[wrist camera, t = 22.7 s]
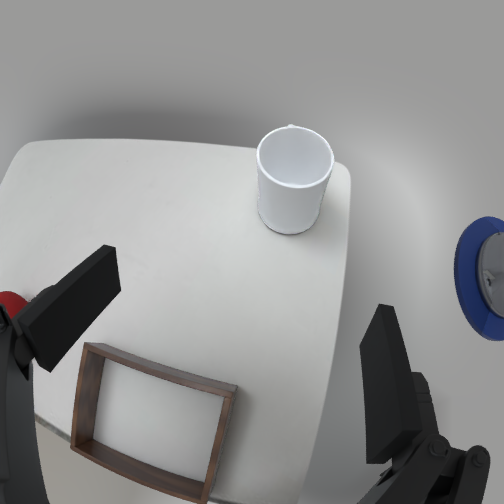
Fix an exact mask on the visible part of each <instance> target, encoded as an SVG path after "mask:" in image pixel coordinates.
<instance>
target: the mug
mask: <svg viewBox="0 0 504 504" xmlns="http://www.w3.org/2000/svg"><path fill="white" fill-rule="evenodd" d="M333 166H334V155H333V151H332V149H331V147H330V145H329V144H328V142H327V141H326V140H325V139H324V138H323V137H322V136H320V135H319V134H318V133H316V132H314V131H312V130H309V129H306V128H303V127H296V126H294V125H293V124H289V125H288V127H282V128H279V129H276V130H274V131H272V132H270V133H268V134H267V135H266V136H265V137H264V138H263V139H262V140H261V142H260V144H259V146H258V148H257V173H258V188H259V199H258V211H259V214H260V217H261V219H262V220H263V222H264V223H265V224H266V225H267V226H268V227H270V228H271V229H273V230H274V231H277V232H279V233H283V234H297V233H301V232H303V231H305V230H307V229H309V228H310V227H311V226H312V225H313V224H314V223H315V221H316V220H317V218H318V215H319V211H320V204H321V201H322V198H323V196H324V193H325V190H326V187H327V184H328V181H329V178H330V175H331V172H332V169H333Z"/></svg>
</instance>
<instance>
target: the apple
mask: <svg viewBox="0 0 504 504" xmlns="http://www.w3.org/2000/svg"><path fill="white" fill-rule="evenodd" d="M0 303H2V304H4V305H5V307H6V309H7V311H8V314H9V316H10V318H11V319H12V318H13V317H14V316H15V315H16V314H17V313H18V312H19V311H20V310H21V309H22V308H23V307H24V306H26V305H27V304H28V302H27V301H26V300H25V299H24V298H22V297H21V296H20V295H18V294H16V293H14V292H11V291H4V292H0Z"/></svg>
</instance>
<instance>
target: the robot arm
mask: <svg viewBox="0 0 504 504" xmlns="http://www.w3.org/2000/svg"><path fill="white" fill-rule="evenodd" d="M475 277H476V283H477V288H478V291H479V294H480V296H481V299H482V301H483V303H484V304H485V306H486V307H487V309H488V310H489V311H490V312H491V313H492V314H493V315H495V316H496V317H499V318H504V232H500V233H495V234H493V235H491V236H489V237H488V238H486V239H485V240H484V241H483V242H482V243H481V245H480V247H479V249H478V251H477V255H476V260H475ZM120 291H121V286H120V280H119V272H118V265H117V256H116V247H112V246H108V245H103V246H102V247H100V248H99V249H98V250H97V251H95V252H94V253H93V254H92V255H90V256H89V257H88V258H87V259H85V260H84V261H83V262H82V263H80V264H79V265H78V266H77V267H75V268H74V269H73V270H72V271H71V272H69V273H68V274H67V275H66V276H65V277H64V278H62V279H61V280H60V281H59V282H58V283H57V284H55V285H52V286H50V287H48V288H46V289H44V290H42V291H41V292H40V293H39V294H38V295H37V296H36V297H34V298H33V299H32V300H31V302H29V303H28V304H27V305H26V306H24V307H23V308H22V309H21V310H20V311H19V312H18V313H17V314H16V315H15V316H14V317H13V318H12V319H11V318H10V316H9V314H8V311H7V309H6V307H5V305H4V304H2V303H0V504H50V503H49V501H48V498H47V494H46V489H45V485H44V480H43V476H42V471H41V465H40V459H39V452H38V445H37V437H36V428H35V416H34V398H33V364H32V362H31V360H32V359H33V358H34V357H35V359H36V361H37V363H38V365H39V366H40V367H42V368H43V369H45V370H47V371H48V372H50V373H51V371H52V370H53V369H54V368H55V366H56V365H57V364H58V363H59V361H60V360H61V359H62V358H63V357H64V355H65V354H66V353H67V352H68V351H69V349H70V348H71V347H72V346H73V345H74V343H75V342H76V341H77V340H78V339H79V337H80V336H81V335H82V334H83V333H84V332H85V331H86V329H87V328H88V327H89V326H90V325H91V324H92V322H93V321H94V320H95V319H96V318H97V317H98V316H99V315H100V313H101V312H102V311H103V310H104V309H105V308H106V307H107V306H108V305H109V303H110V302H111V301H112V300H113V299H114V298H115V297H116V296H117V295H118V294H119V293H120ZM360 355H361V364H362V376H363V389H364V403H365V423H366V463H367V464H384V463H386V462H387V461H388V460H389V459H391V458H392V466H391V467H390V468H388V469H387V470H386V471H384V472H383V473H382V474H380V476H381V478H380V479H379V481H378V482H377V483H376V484H375V485H374V486H373V487H372V488H371V490H370V491H369V492H368V493H367V494H366V495H365V496H364V497H363V498H362V499H361V500H360V501H359V502H358V503H357V504H481V503H482V500H483V496H484V491H485V487H486V483H487V478H488V473H489V468H490V455H489V452H488V451H487V450H486V448H484V447H482V446H479V445H476V446H473V447H471V448H470V449H469V450H468V451H464V450H460V449H456V448H452V447H451V446H450V444H449V442H448V440H447V439H446V438H445V437H443V436H441V435H439V431H438V427H437V421H436V416H435V412H434V407H433V403H432V398H431V395H430V390H429V386H428V382H427V381H426V379H425V378H424V376H423V375H422V373H420V372H411V369H410V364H409V360H408V356H407V352H406V348H405V345H404V341H403V338H402V334H401V330H400V327H399V323H398V320H397V316H396V313H395V310H394V307H393V306H389V305H383V304H379V305H378V307H377V309H376V312H375V314H374V316H373V318H372V320H371V323H370V325H369V327H368V329H367V331H366V333H365V336H364V338H363V339H362V342H361V344H360Z"/></svg>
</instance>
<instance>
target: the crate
mask: <svg viewBox="0 0 504 504" xmlns="http://www.w3.org/2000/svg"><path fill="white" fill-rule="evenodd" d="M105 358H108V359H110V360H113V361H115V362H118V363H120V364H123V365H125V366H128V367H131V368H133V369H136V370H139V371H141V372H144V373H147V374H150V375H153V376H156V377H158V378H161V379H164V380H168V381H171V382H174V383H177V384H180V385H184V386H187V387H190V388H194V389H197V390H201V391H204V392H208V393H212V394H216V395H219V396H223V397H225V398H224V402H223V406H222V410H221V415H220V419H219V423H218V428H217V432H216V436H215V440H214V445H213V449H212V453H211V457H210V462H209V466H208V470H207V474H206V479H205V483H203V482H199V481H195V480H192V479H189V478H186V477H182V476H179V475H176V474H173V473H170V472H167V471H164V470H162V469H159V468H156V467H154V466H151V465H148V464H146V463H143V462H141V461H138V460H136V459H134V458H131V457H129V456H127V455H124V454H122V453H120V452H118V451H116V450H113V449H111V448H109V447H107V446H105V445H103V444H101V443H99V442H97V441H95V440H93V431H94V422H95V414H96V407H97V400H98V394H99V388H100V382H101V376H102V371H103V365H104V360H105ZM237 387H238V386H237V385H233V384H229V383H225V382H221V381H217V380H213V379H209V378H205V377H202V376H198V375H195V374H191V373H188V372H184V371H181V370H178V369H174V368H171V367H168V366H165V365H162V364H159V363H156V362H153V361H150V360H147V359H144V358H141V357H138V356H135V355H133V354H130V353H127V352H124V351H122V350H119V349H116V348H114V347H111V346H109V345H106V344H104V343H89V342H84V346H83V352H82V357H81V362H80V368H79V374H78V380H77V387H76V394H75V402H74V410H73V420H72V431H71V445H70V448H71V449H72V450H73V451H75V452H77V453H78V454H80V455H82V456H84V457H85V458H87V459H89V460H91V461H93V462H95V463H97V464H99V465H100V466H103V467H104V468H106V469H108V470H111V471H113V472H115V473H117V474H119V475H121V476H123V477H125V478H128V479H130V480H132V481H135V482H137V483H139V484H142V485H144V486H147V487H150V488H152V489H155V490H158V491H160V492H163V493H166V494H169V495H171V496H174V497H177V498H181V499H184V500H187V501H191V502H194V503H197V504H207V502H208V499H209V497H210V495H211V492H212V490H213V486H214V482H215V478H216V474H217V470H218V466H219V462H220V458H221V454H222V450H223V446H224V441H225V437H226V433H227V429H228V425H229V421H230V416H231V412H232V408H233V404H234V400H235V395H236V391H237Z"/></svg>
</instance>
